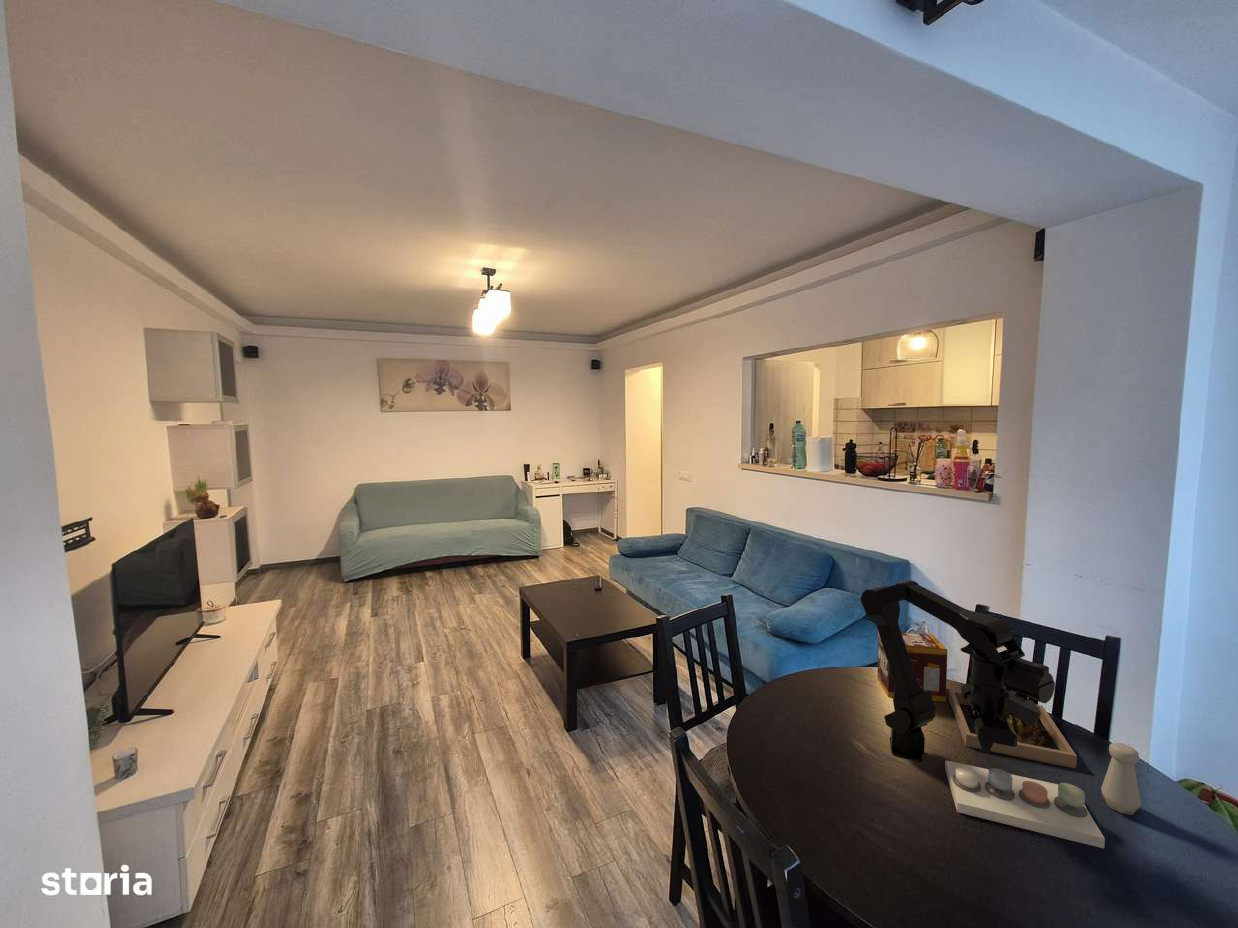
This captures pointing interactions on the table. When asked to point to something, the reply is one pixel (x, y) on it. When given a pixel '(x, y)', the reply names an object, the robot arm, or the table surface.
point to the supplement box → (918, 664)
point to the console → (1023, 807)
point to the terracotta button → (1034, 792)
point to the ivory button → (966, 777)
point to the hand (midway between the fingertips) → (985, 751)
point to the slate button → (1000, 779)
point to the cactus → (1030, 733)
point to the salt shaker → (1122, 780)
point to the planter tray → (1058, 757)
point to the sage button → (1071, 795)
